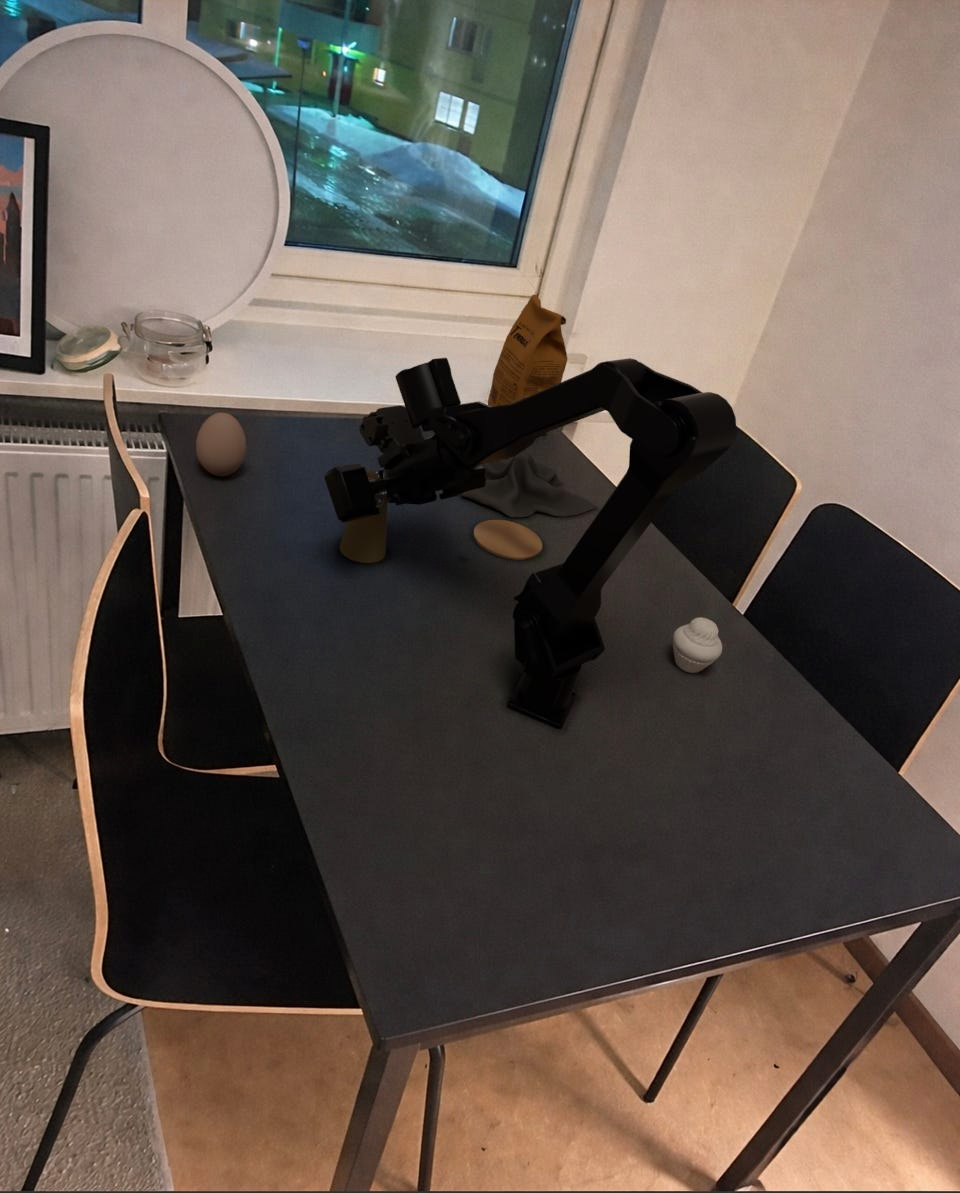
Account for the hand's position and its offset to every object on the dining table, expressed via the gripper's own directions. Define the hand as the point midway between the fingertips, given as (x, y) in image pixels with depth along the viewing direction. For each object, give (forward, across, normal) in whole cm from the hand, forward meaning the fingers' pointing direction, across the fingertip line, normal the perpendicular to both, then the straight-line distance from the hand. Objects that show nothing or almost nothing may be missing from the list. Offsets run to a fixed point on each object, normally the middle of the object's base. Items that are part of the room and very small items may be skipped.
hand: (363, 501), depth 116 cm
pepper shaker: (+4, 0, +6) cm, 7 cm away
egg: (+21, +7, -11) cm, 25 cm away
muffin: (-23, -23, +32) cm, 46 cm away
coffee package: (+21, -52, -11) cm, 57 cm away
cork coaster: (-1, -21, +10) cm, 23 cm away
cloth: (+7, -34, +3) cm, 35 cm away
